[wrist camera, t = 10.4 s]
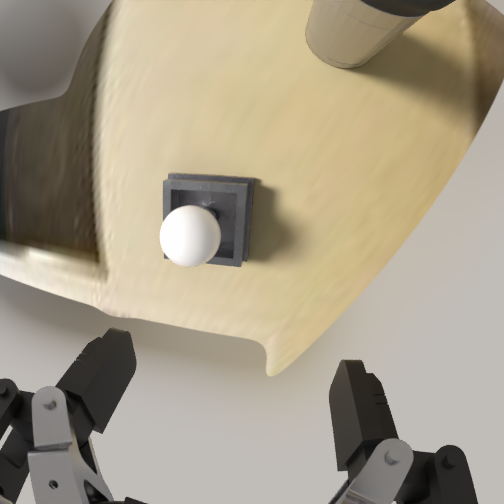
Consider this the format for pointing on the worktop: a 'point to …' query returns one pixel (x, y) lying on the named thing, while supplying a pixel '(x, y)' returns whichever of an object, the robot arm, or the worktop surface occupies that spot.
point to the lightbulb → (190, 235)
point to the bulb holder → (216, 209)
